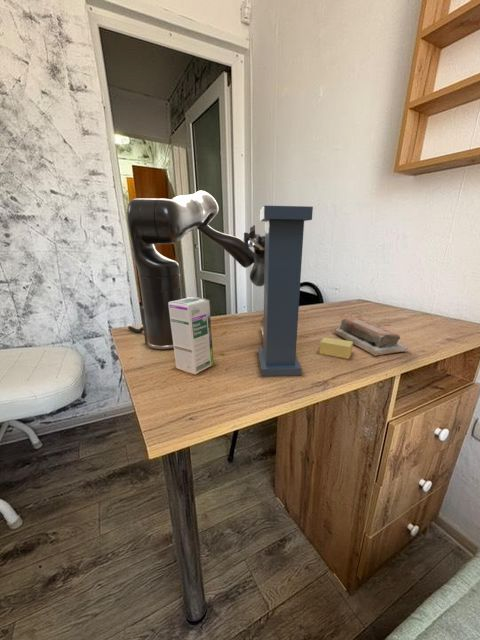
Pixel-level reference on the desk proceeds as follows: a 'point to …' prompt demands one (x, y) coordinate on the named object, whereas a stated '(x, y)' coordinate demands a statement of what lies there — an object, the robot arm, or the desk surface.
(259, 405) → the desk surface
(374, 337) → the plastering float
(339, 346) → the butter block
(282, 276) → the square pillar stand
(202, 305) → the syrup box
